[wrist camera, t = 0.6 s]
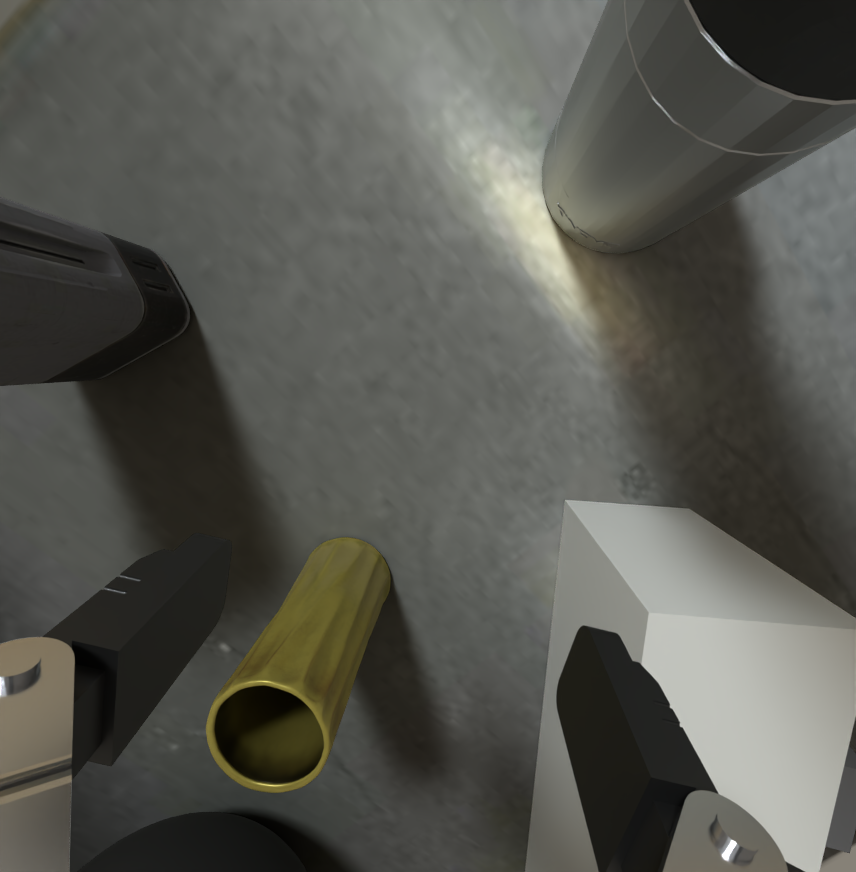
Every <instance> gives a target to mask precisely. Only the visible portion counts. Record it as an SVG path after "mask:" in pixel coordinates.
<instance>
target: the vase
mask: <svg viewBox="0 0 856 872" xmlns="http://www.w3.org/2000/svg"><path fill="white" fill-rule="evenodd" d="M390 584H391V578H390V571H389V568H388V566H387V564H386V562H385V560H384V558H383V557H382V555H381V554H380V553H379V552H378V551H377V550H376V549H375V548H374V547H373V546H371V545H370V544H368V543H366V542H364V541H362V540H359V539H355V538H349V537H342V538H336V539H332V540H329V541H326V542H324V543H322V544H321V545H319V546H318V547H317V548H316V549H315V550H314V551H313V552H312V553H311V554H310V556H309V558H308V560H307V562H306V564H305V566H304V567H303V569H302V571H301V573H300V575H299V576H298V578H297V580H296V581H295V583H294V585H293V586H292V588H291V590H290V592H289V594H288V595H287V597H286V599H285V601H284V602H283V604H282V606H281V608H280V610H279V611H278V612H277V614H276V615H275V616H274V618H273V619H272V620H271V621H270V623H269V624H268V625H267V627H266V628H265V630H264V631H263V632H262V634H261V635H260V637H259V638H258V639H257V641H256V642H255V644H254V645H253V647H252V648H251V649H250V651H249V652H248V654H247V655H246V656H245V658H244V659H243V660H242V662H241V663H240V665H239V666H238V667H237V669H236V670H235V672H234V673H233V675H232V676H231V677H230V679H229V680H228V681H227V682H226V684H225V685H224V686H223V688H222V689H221V691H220V692H219V694H218V695H217V697H216V698H215V700H214V702H213V704H212V707H211V710H210V712H209V716H208V720H207V725H206V734H207V742H208V745H209V748H210V751H211V754H212V756H213V758H214V759H215V761H216V763H217V764H218V765H219V767H220V768H221V769H222V770H223V771H224V772H225V773H226V774H227V775H228V776H229V777H230V778H231V779H233V780H234V781H236V782H238V783H239V784H241V785H242V786H244V787H246V788H249V789H252V790H256V791H262V792H269V793H279V792H287V791H291V790H295V789H299V788H301V787H303V786H305V785H307V784H308V783H310V782H311V781H312V780H313V779H315V778H316V777H317V776H318V774H319V773H320V772H321V770H322V769H323V767H324V765H325V763H326V761H327V759H328V756H329V754H330V751H331V748H332V745H333V742H334V739H335V736H336V733H337V730H338V727H339V725H340V722H341V719H342V716H343V714H344V711H345V708H346V705H347V702H348V699H349V696H350V693H351V690H352V687H353V684H354V681H355V678H356V674H357V672H358V669H359V666H360V663H361V660H362V658H363V655H364V652H365V649H366V646H367V643H368V640H369V638H370V635H371V633H372V631H373V628H374V626H375V623H376V621H377V619H378V616H379V614H380V611H381V607H382V605H383V603H384V602H385V600H386V598H387V596H388V594H389V590H390Z"/></svg>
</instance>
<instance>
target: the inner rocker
mask: <svg viewBox="0 0 856 872" xmlns="http://www.w3.org/2000/svg"><path fill="white" fill-rule="evenodd" d="M855 829H856V753H855V752H854V751H853V749H852V748H851V747H850V745H849V747H848V751H847V756H846V760H845V764H844V769H843V773H842V777H841V781H840V786H839V790H838V794H837V798H836V803H835V807H834V811H833V816H832V820H831V824H830V828H829V833H828V837H827V841H826V846H825V847H829V848H832V849H836V850H840V851H843V852H847V853H850V850H851V846H852V842H853V838H854V833H855Z"/></svg>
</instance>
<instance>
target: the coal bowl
mask: <svg viewBox="0 0 856 872" xmlns="http://www.w3.org/2000/svg"><path fill="white" fill-rule="evenodd" d="M77 872H307V871H306V869H305V867H304V865H303V864H302V862H301V861H300V859H299V858H298V857H297V855H296V854H295V853H294V852H293V850H292V849H291V848H290V847H289V846H288V845H287V844H286V843H285V842H284V841H283V840H282V839H281V838H280V837H279V836H277V835H276V834H275V833H274V832H272V831H271V830H269V829H268V828H266V827H264V826H263V825H261V824H259V823H257V822H255V821H253V820H250V819H248V818H245V817H242V816H238V815H234V814H229V813H221V812H198V813H189V814H185V815H180V816H176V817H171V818H168V819H165V820H162V821H159V822H157V823H154V824H151V825H149V826H147V827H144V828H142V829H140V830H138V831H136V832H134V833H132V834H130V835H129V836H127V837H125V838H123V839H121V840H120V841H118V842H116V843H115V844H113V845H112V846H110V847H109V848H107V849H106V850H104V851H103V852H102V853H100V854H99V855H97V856H96V857H95V858H93V859H92V860H91V861H90V862H88V863H87V864H86V865H85V866H83V867H82V868H81V869H80V870H79V871H77Z"/></svg>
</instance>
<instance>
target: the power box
mask: <svg viewBox="0 0 856 872" xmlns="http://www.w3.org/2000/svg"><path fill="white" fill-rule="evenodd" d="M583 625H585V626H590V627H594V628H598V629H602V630H606V631H611V632H615V633H617V634H618V635H619V636H620V637H621V639H622V641H623V643H624V645H625V647H626V649H627V651H628V653H629V655H630V657H631V659H632V661H636V662H639V663H640V664H641V665H642V666H643V667H644V668H645V669H646V670H647V671H648V672H649V673H650V674H651V675H652V677H653V678H654V679H655V680H656V681H657V682H658V683H659V685H660V687H661V689H662V690H663V692H664V694H665V696H666V698H667V700H668V701H669V703H670V708H671V709H673V711H674V712H675V714H676V716H677V718H678V720H679V722H680V727H683V729H684V731H685V733H686V734H687V736H688V738H689V740H690V742H691V744H692V745H693V747H694V749H695V751H696V753H697V755H698V756H699V758H700V760H701V762H702V764H703V766H704V767H705V769H706V771H707V773H708V775H709V777H710V778H711V780H712V782H713V784H714V786H715V788H716V790H717V791H718V793H719V795H722V796H724V797H726V798H728V799H730V800H731V801H733V802H734V803H736V804H737V805H739V806H740V807H742V808H743V809H744V810H746V811H747V812H748V813H749V814H750V815H752V816H753V817H754V818H755V819H756V820H757V821H758V822H759V823H760V824H761V825H762V826H763V827H764V828H765V830H766V831H767V832H768V833H769V834H770V836H771V837H772V838H773V840H774V841H775V843H776V844H777V846H778V847H779V849H780V851H781V853H782V855H783V857H784V859H785V861H786V862H788V863H790V864H791V865H793V866H795V867H797V868H799V869H801V870H803V871H805V872H819V871H820V867H821V863H822V858H823V854H824V850H825V846H826V841H827V837H828V833H829V828H830V824H831V820H832V816H833V811H834V807H835V803H836V798H837V794H838V790H839V786H840V781H841V777H842V773H843V769H844V764H845V760H846V756H847V751H848V747H849V743H850V739H851V734H852V730H853V726H854V721H855V717H856V618H855V617H853V616H852V615H850V614H849V613H847V612H846V611H844V610H843V609H841V608H839V607H838V606H836V605H835V604H833V603H832V602H830V601H829V600H827V599H826V598H824V597H823V596H821V595H820V594H818V593H817V592H815V591H814V590H812V589H811V588H809V587H808V586H806V585H805V584H803V583H801V582H800V581H798V580H797V579H795V578H794V577H792V576H791V575H789V574H788V573H786V572H785V571H783V570H782V569H780V568H779V567H777V566H776V565H774V564H773V563H771V562H770V561H768V560H767V559H765V558H763V557H762V556H760V555H759V554H757V553H756V552H754V551H753V550H751V549H750V548H748V547H747V546H745V545H744V544H742V543H741V542H739V541H738V540H736V539H735V538H733V537H732V536H730V535H729V534H727V533H725V532H724V531H722V530H721V529H719V528H718V527H716V526H715V525H713V524H712V523H710V522H709V521H707V520H706V519H704V518H703V517H701V516H700V515H698V514H697V513H695V512H694V511H692V510H691V509H688V508H674V507H660V506H646V505H632V504H617V503H603V502H589V501H575V500H565V503H564V512H563V522H562V531H561V540H560V550H559V559H558V568H557V578H556V587H555V596H554V605H553V615H552V624H551V633H550V643H549V652H548V661H547V671H546V680H545V689H544V699H543V708H542V717H541V727H540V736H539V745H538V754H537V764H536V773H535V782H534V792H533V801H532V810H531V820H530V829H529V838H528V848H527V857H526V866H525V872H599V871H598V867H597V863H596V859H595V855H594V851H593V848H592V844H591V840H590V836H589V832H588V828H587V824H586V820H585V816H584V813H583V809H582V805H581V801H580V797H579V793H578V789H577V785H576V781H575V778H574V774H573V770H572V766H571V762H570V758H569V754H568V750H567V746H566V743H565V739H564V735H563V731H562V727H561V723H560V719H559V715H558V711H557V704H556V694H557V686H558V681H559V678H560V675H561V673H562V670H563V668H564V665H565V662H566V660H567V657H568V654H569V652H570V649H571V646H572V644H573V641H574V639H575V636H576V633H577V631H578V629H579V628H580V627H581V626H583Z"/></svg>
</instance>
